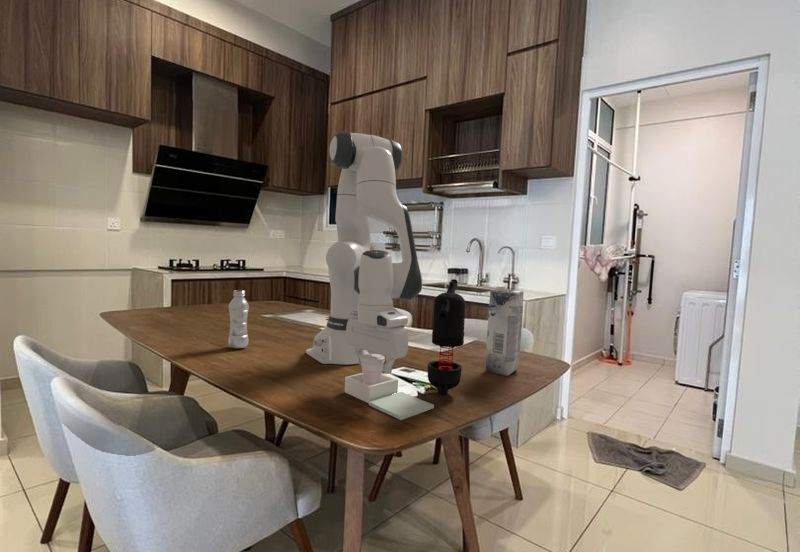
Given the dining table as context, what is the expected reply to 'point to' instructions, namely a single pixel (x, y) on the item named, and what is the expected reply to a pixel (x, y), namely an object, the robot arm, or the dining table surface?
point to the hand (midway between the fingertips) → (374, 368)
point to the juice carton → (504, 330)
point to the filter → (447, 338)
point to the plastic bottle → (238, 320)
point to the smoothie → (372, 368)
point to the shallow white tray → (370, 387)
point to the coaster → (401, 405)
